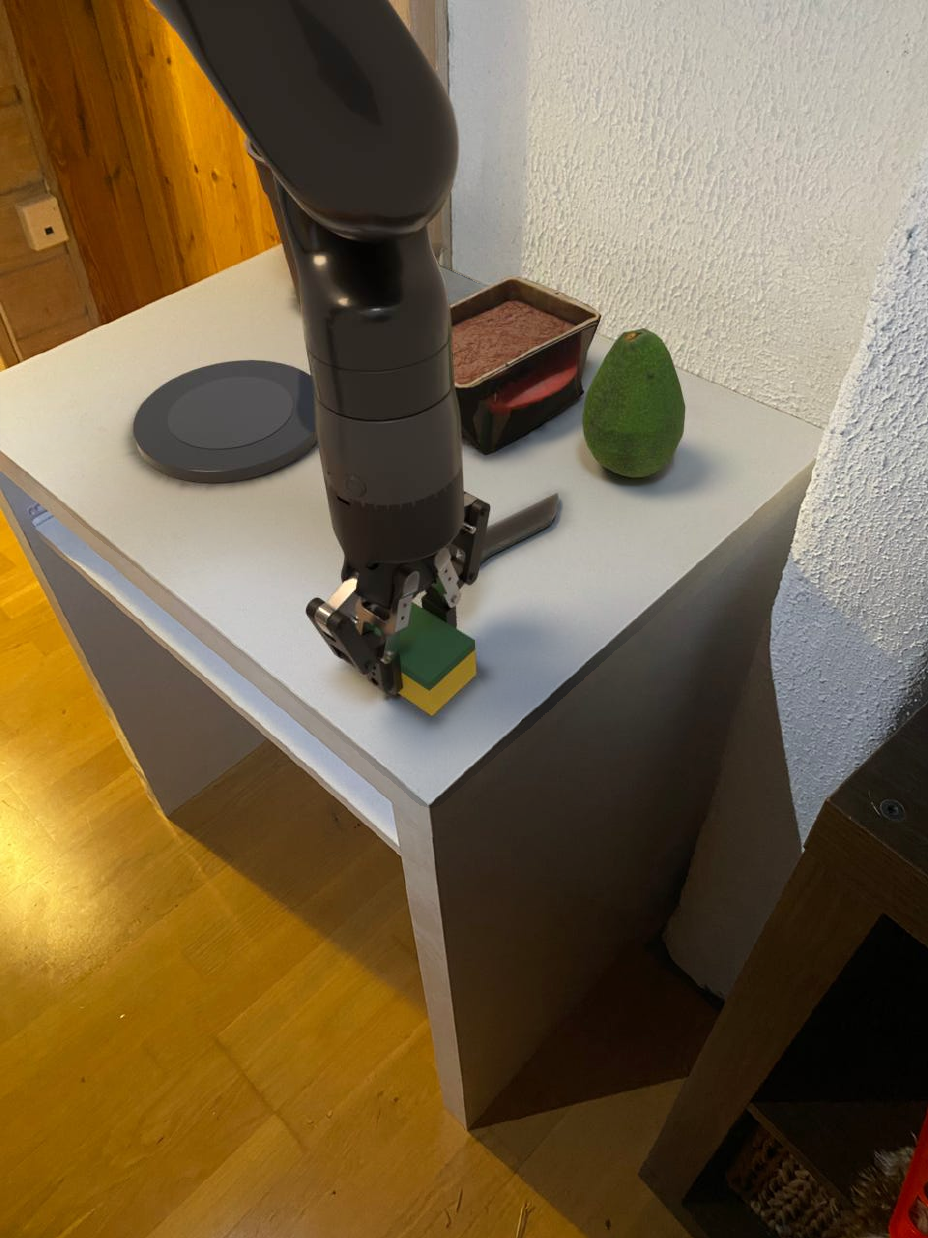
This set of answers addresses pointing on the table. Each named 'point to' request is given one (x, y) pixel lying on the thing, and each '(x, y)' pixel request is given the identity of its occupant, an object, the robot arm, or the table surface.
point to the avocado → (634, 406)
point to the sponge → (433, 660)
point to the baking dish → (517, 358)
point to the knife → (518, 526)
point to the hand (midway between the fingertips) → (414, 661)
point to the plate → (228, 421)
